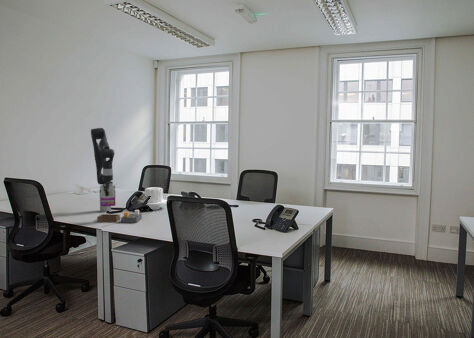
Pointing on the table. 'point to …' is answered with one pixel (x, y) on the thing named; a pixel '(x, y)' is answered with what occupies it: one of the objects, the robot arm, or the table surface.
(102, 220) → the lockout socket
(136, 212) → the breaker
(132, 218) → the breaker panel
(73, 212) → the table surface
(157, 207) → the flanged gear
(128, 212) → the breaker tagged
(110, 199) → the candy bar box
